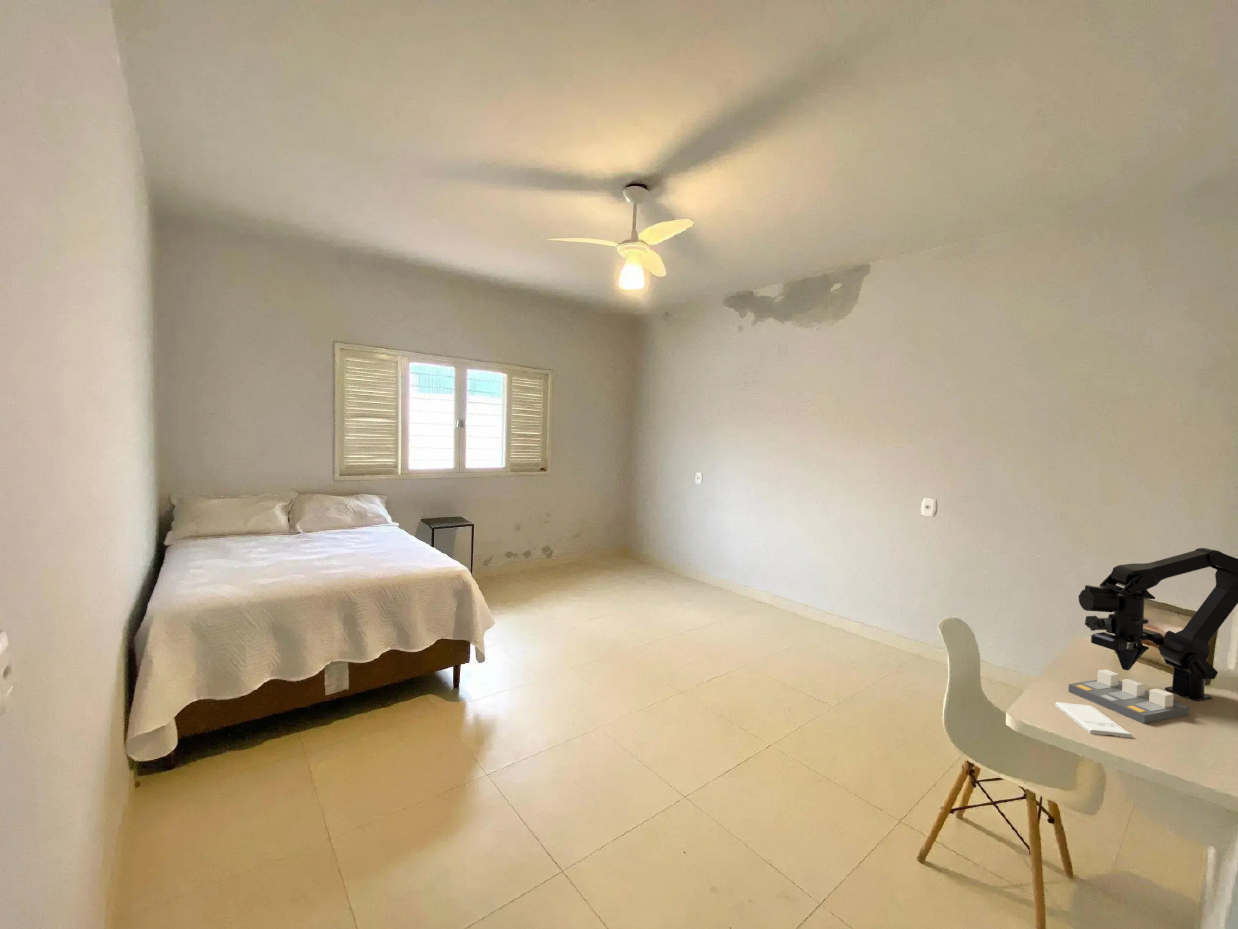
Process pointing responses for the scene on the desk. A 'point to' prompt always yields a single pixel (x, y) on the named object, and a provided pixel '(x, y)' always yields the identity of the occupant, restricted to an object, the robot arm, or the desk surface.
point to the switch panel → (1127, 702)
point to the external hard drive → (1092, 720)
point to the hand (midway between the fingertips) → (1125, 669)
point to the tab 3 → (1161, 697)
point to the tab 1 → (1108, 677)
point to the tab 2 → (1133, 687)
